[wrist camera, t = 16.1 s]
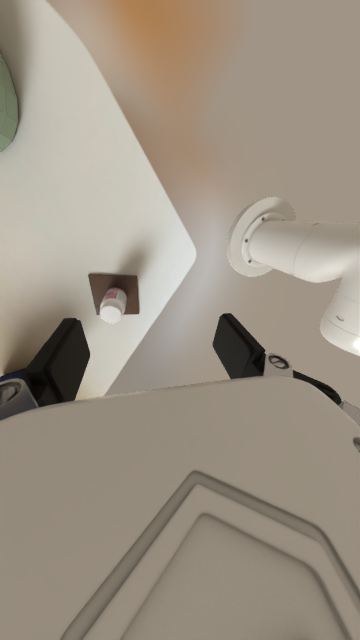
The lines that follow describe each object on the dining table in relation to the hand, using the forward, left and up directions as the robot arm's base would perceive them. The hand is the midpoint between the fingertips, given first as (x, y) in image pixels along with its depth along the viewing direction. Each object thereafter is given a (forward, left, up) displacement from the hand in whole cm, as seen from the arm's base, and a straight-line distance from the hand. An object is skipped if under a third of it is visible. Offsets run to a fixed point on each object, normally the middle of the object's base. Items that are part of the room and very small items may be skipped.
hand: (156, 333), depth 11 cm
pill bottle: (+7, +10, -28) cm, 30 cm away
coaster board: (+7, +10, -28) cm, 31 cm away
